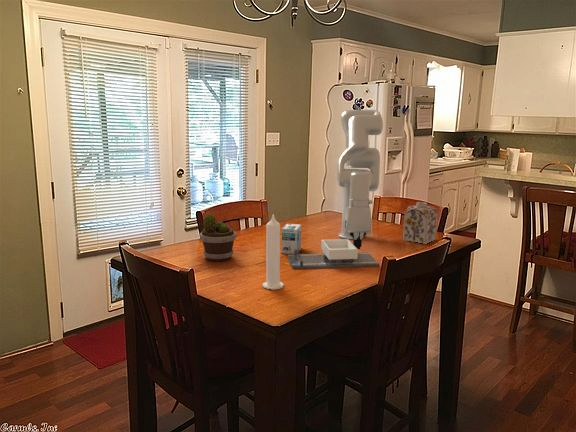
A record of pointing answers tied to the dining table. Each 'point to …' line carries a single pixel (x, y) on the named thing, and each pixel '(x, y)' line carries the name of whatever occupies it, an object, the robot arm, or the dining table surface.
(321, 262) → the track
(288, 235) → the light bulb box
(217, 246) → the flowerpot
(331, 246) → the cart
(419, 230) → the decorative jar
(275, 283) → the candle
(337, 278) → the dining table surface
